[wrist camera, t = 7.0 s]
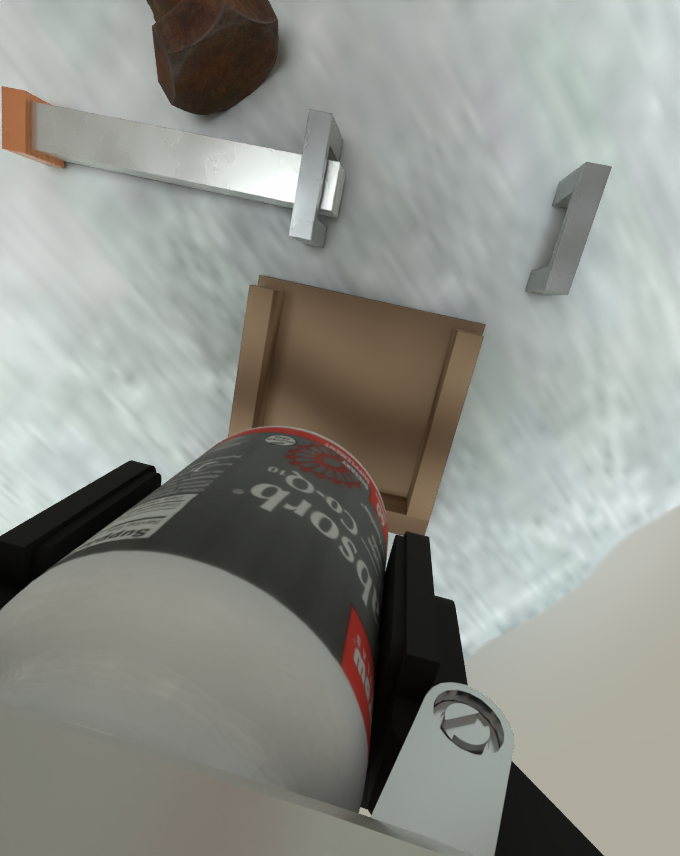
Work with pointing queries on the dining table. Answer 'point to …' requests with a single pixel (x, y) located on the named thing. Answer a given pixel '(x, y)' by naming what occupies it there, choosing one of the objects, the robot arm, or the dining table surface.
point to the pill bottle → (222, 618)
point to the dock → (359, 384)
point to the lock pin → (157, 153)
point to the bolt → (213, 50)
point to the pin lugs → (572, 193)
